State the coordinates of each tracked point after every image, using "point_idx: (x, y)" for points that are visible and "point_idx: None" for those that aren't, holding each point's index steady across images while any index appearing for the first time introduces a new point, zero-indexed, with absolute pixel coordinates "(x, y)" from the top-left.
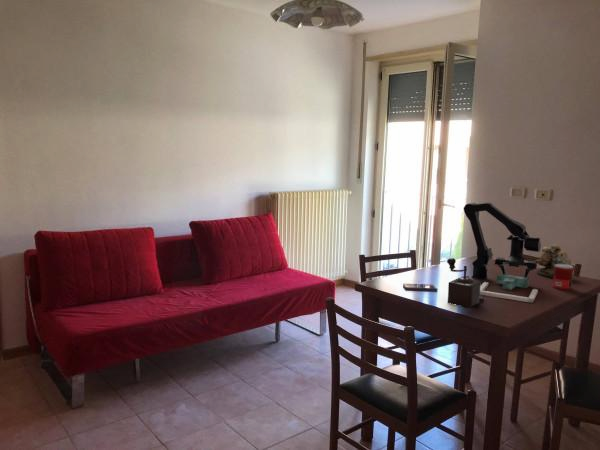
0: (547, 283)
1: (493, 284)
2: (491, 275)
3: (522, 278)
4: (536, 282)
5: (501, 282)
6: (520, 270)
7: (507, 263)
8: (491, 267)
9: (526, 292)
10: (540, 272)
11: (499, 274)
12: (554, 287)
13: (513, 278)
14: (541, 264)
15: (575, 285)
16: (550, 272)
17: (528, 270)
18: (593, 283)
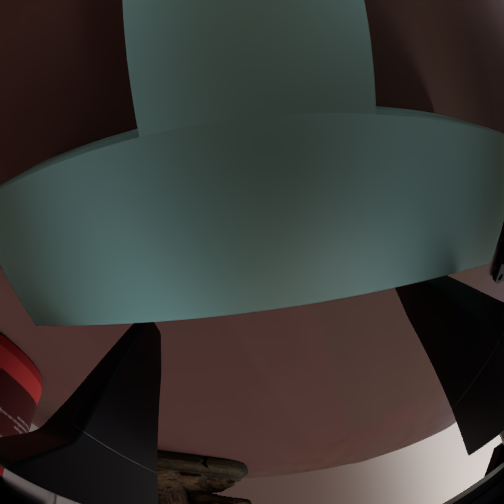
0: None
1: (438, 32)
2: None
3: (57, 239)
4: None
5: (399, 109)
6: (316, 456)
7: (498, 478)
8: (426, 414)
9: (7, 5)
10: (221, 470)
11: (498, 218)
12: (6, 339)
13: (187, 47)
14: (229, 502)
15: (36, 408)
16: (174, 476)
17: (13, 443)
18: None
